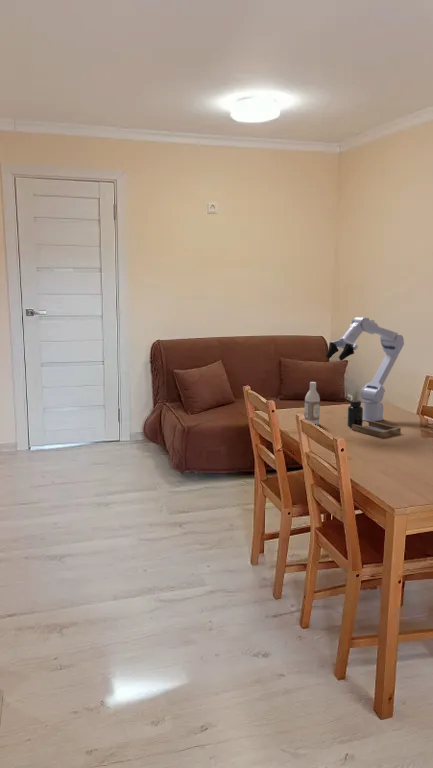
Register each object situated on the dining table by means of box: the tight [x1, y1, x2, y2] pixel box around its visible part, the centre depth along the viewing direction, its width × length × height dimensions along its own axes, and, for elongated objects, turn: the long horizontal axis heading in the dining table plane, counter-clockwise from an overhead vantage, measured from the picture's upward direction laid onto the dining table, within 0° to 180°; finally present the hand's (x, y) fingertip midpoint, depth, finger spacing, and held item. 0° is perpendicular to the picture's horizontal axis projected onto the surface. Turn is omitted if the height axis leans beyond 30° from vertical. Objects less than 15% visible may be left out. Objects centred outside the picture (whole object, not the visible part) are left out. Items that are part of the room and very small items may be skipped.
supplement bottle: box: [346, 399, 364, 428], centre depth 271 cm, size 7×7×12 cm
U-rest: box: [351, 421, 401, 439], centre depth 262 cm, size 13×16×2 cm
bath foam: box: [303, 381, 321, 426], centre depth 273 cm, size 7×7×20 cm
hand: (333, 358), depth 263 cm, fingers open, 7 cm apart
